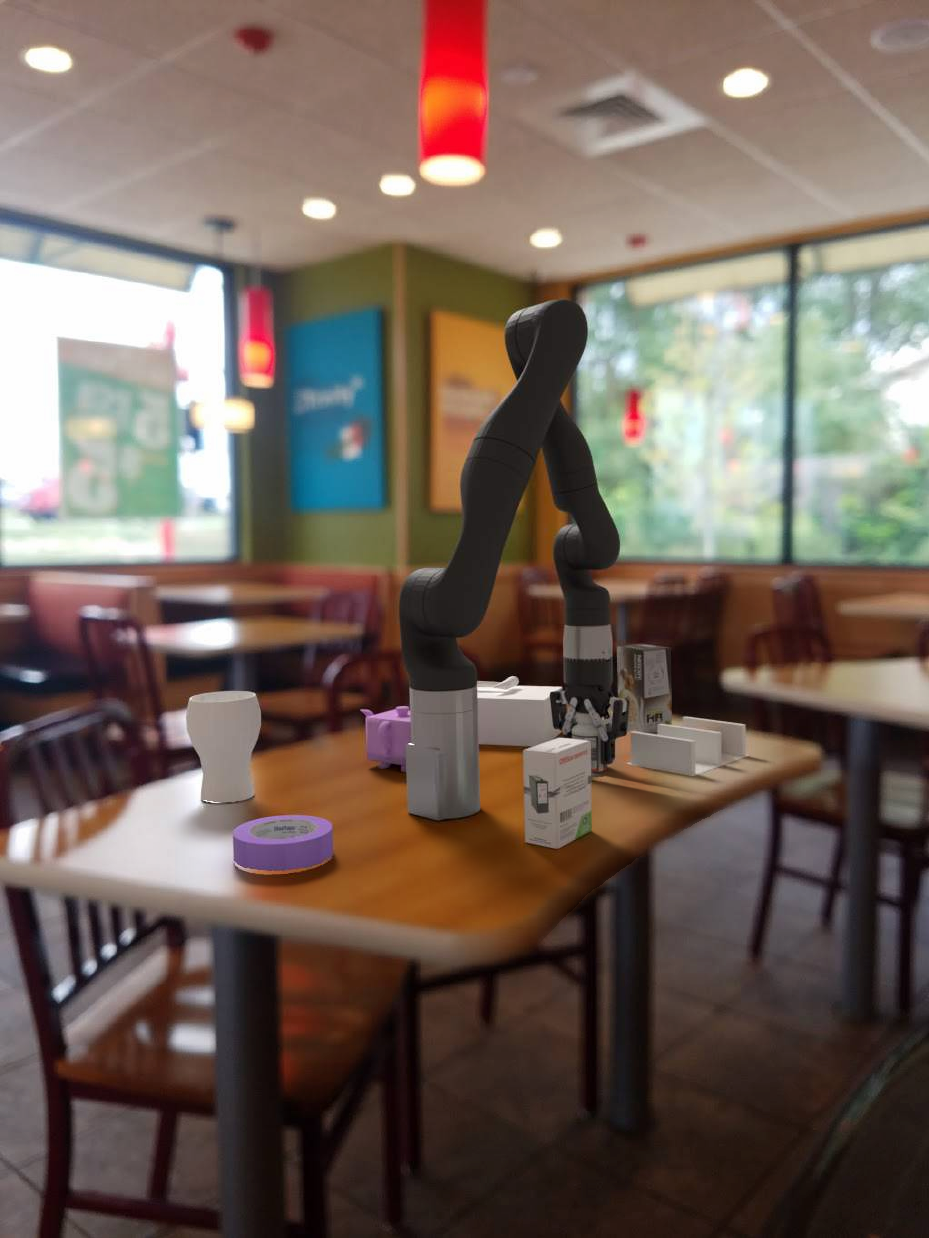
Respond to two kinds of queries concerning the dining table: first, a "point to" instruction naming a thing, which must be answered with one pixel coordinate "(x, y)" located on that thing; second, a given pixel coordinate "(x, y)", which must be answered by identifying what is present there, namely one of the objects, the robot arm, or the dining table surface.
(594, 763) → the pill bottle
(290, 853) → the masking tape
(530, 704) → the tissue box
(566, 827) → the ink box
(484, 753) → the dining table surface
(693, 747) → the rack
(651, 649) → the coffee box
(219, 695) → the cup
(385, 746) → the teapot
